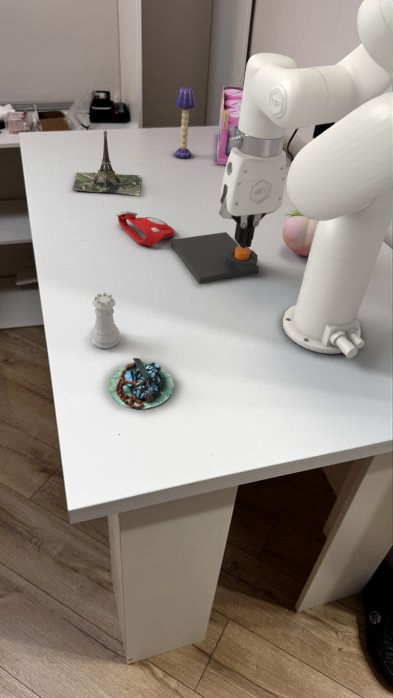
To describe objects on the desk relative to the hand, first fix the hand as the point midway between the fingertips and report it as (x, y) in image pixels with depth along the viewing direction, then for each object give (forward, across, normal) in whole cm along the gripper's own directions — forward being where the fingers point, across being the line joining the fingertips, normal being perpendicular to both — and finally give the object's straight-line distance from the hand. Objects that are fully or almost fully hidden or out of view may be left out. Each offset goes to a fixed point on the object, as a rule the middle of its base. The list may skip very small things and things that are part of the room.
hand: (242, 243), depth 96 cm
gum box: (+6, +26, +55) cm, 61 cm away
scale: (+5, -3, +4) cm, 8 cm away
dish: (+5, -27, -24) cm, 37 cm away
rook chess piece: (+5, -29, -13) cm, 33 cm away
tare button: (+3, 0, 0) cm, 3 cm away
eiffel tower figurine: (+6, -13, +41) cm, 44 cm away
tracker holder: (+6, -12, +17) cm, 22 cm away
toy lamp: (+6, +11, +54) cm, 55 cm away
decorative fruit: (+5, +15, +1) cm, 16 cm away
